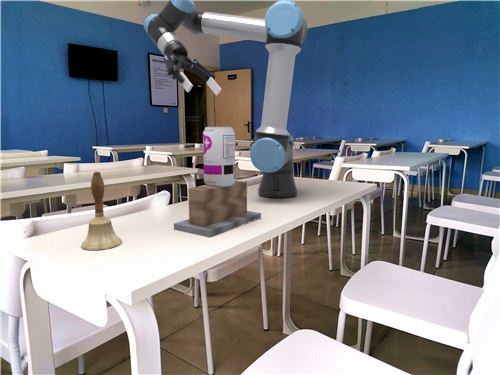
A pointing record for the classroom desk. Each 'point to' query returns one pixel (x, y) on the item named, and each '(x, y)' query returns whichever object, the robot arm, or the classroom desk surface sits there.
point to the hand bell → (99, 221)
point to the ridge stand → (217, 209)
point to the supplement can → (219, 156)
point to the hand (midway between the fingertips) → (205, 91)
